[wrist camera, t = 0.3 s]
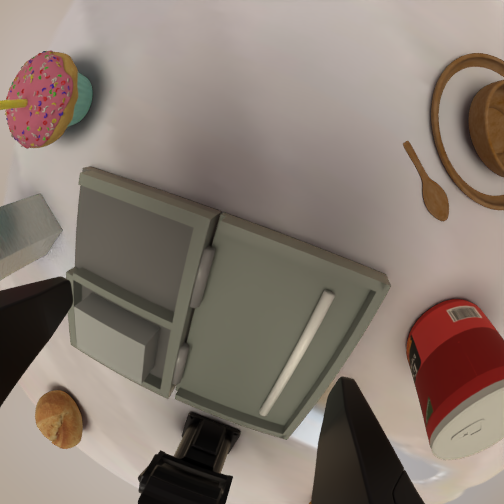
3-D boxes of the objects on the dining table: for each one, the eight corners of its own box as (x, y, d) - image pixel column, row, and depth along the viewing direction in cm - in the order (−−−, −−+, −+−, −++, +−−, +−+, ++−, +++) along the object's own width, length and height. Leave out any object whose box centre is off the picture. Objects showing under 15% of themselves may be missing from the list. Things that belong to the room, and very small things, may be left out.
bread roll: (95, 408, 38) (69, 441, 30) (89, 437, 43) (69, 464, 36) (50, 372, 38) (21, 400, 30) (51, 408, 43) (30, 432, 36)
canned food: (388, 336, 23) (412, 441, 13) (461, 277, 20) (527, 361, 10) (427, 379, 24) (451, 470, 13) (491, 330, 20) (540, 410, 10)
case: (289, 426, 29) (284, 454, 25) (82, 334, 31) (62, 352, 27) (385, 274, 21) (397, 299, 17) (90, 166, 23) (59, 173, 19)
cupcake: (122, 67, 20) (7, 44, 9) (89, 157, 23) (-23, 182, 12) (64, 52, 20) (-34, 41, 9) (39, 130, 23) (-57, 145, 12)
